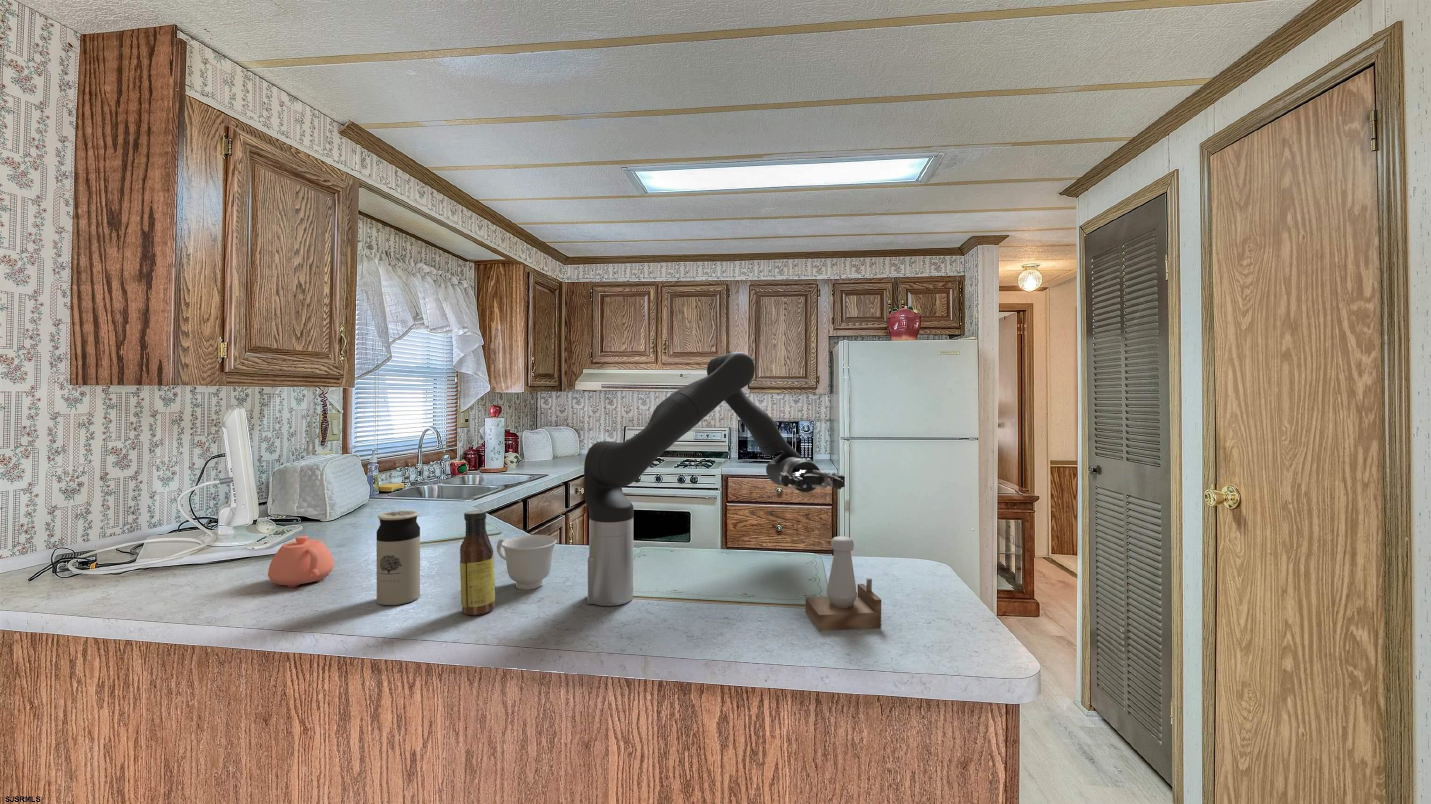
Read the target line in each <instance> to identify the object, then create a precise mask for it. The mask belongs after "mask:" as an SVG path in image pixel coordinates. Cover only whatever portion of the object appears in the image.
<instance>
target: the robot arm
mask: <svg viewBox="0 0 1431 804" xmlns="http://www.w3.org/2000/svg"><path fill="white" fill-rule="evenodd" d="M755 371H756V366H755V362H754V360H753V358H752V357H751V356H750V355H749V354H747V353H745V352H742V351H732V352H729V353H725V354H722V355H717V356H715V357H713V358H712V359H710V360H709V362H708V363H707V366H706V374H707V375H706V376H704V377H702V378H700V379H697V380H695V381H693V382H691V383H688V384H687V385H685V386H682V387H681V388H679V389H677V390H675V391H673V393H671V394H670V395H668V396H667V397H666V398H665V399H663V400H662V401H661V402H660V403H659V404H658V405H656V407H654V410H653V411H652V413H651V416H650V419H649V421H648V423H647V424H646V426H645V427H643V429H641V430H640V431H639V432H638V433H636V434H635V435H634V436H632V437H630V438H629V439H626V440H624V441H621V442H619V441H618V442H617V441H610V440H609V441H608V440H602V441H597V442H596V443H593V444H592V445H591V446H590V447H589V449H588V450H587V452H586V455H585V459H584V464H583V468H584V469H583V475H584V477H583V479H584V500H585V504H586V507H587V510H588V517H589V518H588V519H589V521H588V525H589V526H588V528H589V529H588V530H589V531H588V533H589V534H588V558H587V604H588V605H596V606H603V607H610V606H611V607H612V606H613V607H614V606H619V605H623V604H626V603H627V604H628V603H629V602H630V601H632V600H633V598H634V514H635V511H634V504H633V503H632V502H631V501H630V499H628V498H627V497H626V494H624V492H623V491H624V490H623V487H624V488H625V487H628V486H630V485H631V484H633V483H634V482H636V481H637V480H638V479H639V478H640V477H641V475H643V474H644V473H645V472H646V470H648V468H649V467H650V466H652V464H653V463H654V462H655V461H656V460H657V459H658V458H659V457H661V455H662V454H663V453H664V452H665V451H666V450H667V449H669V448H670V447H672V446H673V444H675V443H676V442H677V441H679V440H680V439H681V438H682V437H684V436H685V435H686V434H687V433H689V432H690V431H691V430H692V429H693V428H695V426H697V425H698V424H699V423H700V422H701V421H703V420H704V419H705V418H706V417H707V416H708V415H709V414H710V413H712V412H713V411H714V410H715V409H716V408H717V407H718V406H719V405H721V404H722V403H723V402H725V403H726V404H727V405H728V407H730V409H731V410H732V411H733V413H734V414H736V416H737V417H738V418H739V419H740V421H741V422H742V423H743V424H744V426H745V428H746V429H747V431H748V432H749V434H750V435H751V437H752V439H753V441H754V443H756V446H757V448H758V449H759V451H760V452H761V453H762V454H763V455H764V456H771V455H775V454H778V453H780V454H779V455H777V456H776V457H774V458H773V459H772V460H770V461H769V462H768V463H767V464H766V467H765V473H766V475H767V478H768V479H769V480H770V481H771V482H772V483H773V484H775V485H778V486H783V487H785V488H786V487H791V488H793V489H795V490H796V491H798V492H801V493H811V492H814V490H816V489H817V488H823V489H829V488H831V487H832V488H834V489H836V490H841V489H842V488H845V487H846V485H845V483H846V482H845V480H846V479H845V478H846V476H845V475H844V474H839V473H836V472H832V473H830V472H826V471H821V470H820V468H819V466H817V464H815V463H813V462H812V461H809V460H807V459H804V458H803V456H802V455H801V454H800V453H799V452H798V451H797V450H795V449H794V448H793V447H792V446H791V445H790V444H789V443H788V442H787V441H786V439H785V438H784V436H783V435H782V433H781V432H780V430H779V428H778V426H777V425H776V423H775V421H774V420H773V419H772V417H771V416H770V415H769V414H768V413H767V412H766V411H765V410H763V409H762V408H761V407H760V406H759V405H757V404H756V402H753V401H752V400H751V399H750V398H749V397H748V396H747V395H746V393H745V392H744V391H743V390H742V389H743V388H745V387H746V386H748V385H749V384H750V382H752V381H753V378H754V376H755Z"/></svg>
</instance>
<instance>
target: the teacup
mask: <svg viewBox="0 0 1431 804" xmlns="http://www.w3.org/2000/svg"><path fill="white" fill-rule="evenodd" d="M557 542H558V539H556V537H554V536H551V535H547V534H546V535H545V534H527V535H518V536H513V537H510V538H500V539H499V540H498V542H496V543H497V544H496V552H497V554H498V556H499V557H500V558H501V559H503V560H504V561H505V562H506V563H505V564H506V569H507V571H506V572H507V574H508V577H509V578H510V580H512V581H513V582H516V584H515V587H516V588H517V589H519V590H533V589H534V590H535V589H538V588H540V587H541V586H543V584H544V582H543V580H544V579H545V578H547V577H548V575H549V574H550V571H551V567H552V561H553V555H554V554H553V553H554V547H555V545H556V544H557Z"/></svg>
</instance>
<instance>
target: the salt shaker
mask: <svg viewBox="0 0 1431 804" xmlns="http://www.w3.org/2000/svg"><path fill="white" fill-rule="evenodd" d="M830 543H831V549H832V550H833V551H834V553H833V556H832V563H831V568H830V572H829V577H828V582H827V587H826V597H828V598H829V601H830V603H831V605H833V606H835V607H837V608H849V607H851V606H853V604H854V602H855V599H856V597H857V586H856V579H855V571H854V566H853V558H852V553H851V552H853V551H854V549H855V544H854V540H853V538H851V537H848V536H844V535H843V536H841V535H839V536H834V537H833V538H832V539H831V542H830Z"/></svg>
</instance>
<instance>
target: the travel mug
mask: <svg viewBox="0 0 1431 804" xmlns="http://www.w3.org/2000/svg"><path fill="white" fill-rule="evenodd" d="M419 514H420V513H419V512H418V511H417V510H409V509H408V510H406V509H405V510H394V511H386V512H382V513H380V514H379V515H377V518H378V520H379V527H378V528H377V529H376V603H377V604H379V605H382V606H401V605H405V604H409V603H412V602H413V601H416V600H417V599H418V598H419V597H420V596H421V527H420V526H419V523H418V522H417V521H418V520H417V518H418V516H419Z"/></svg>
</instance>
